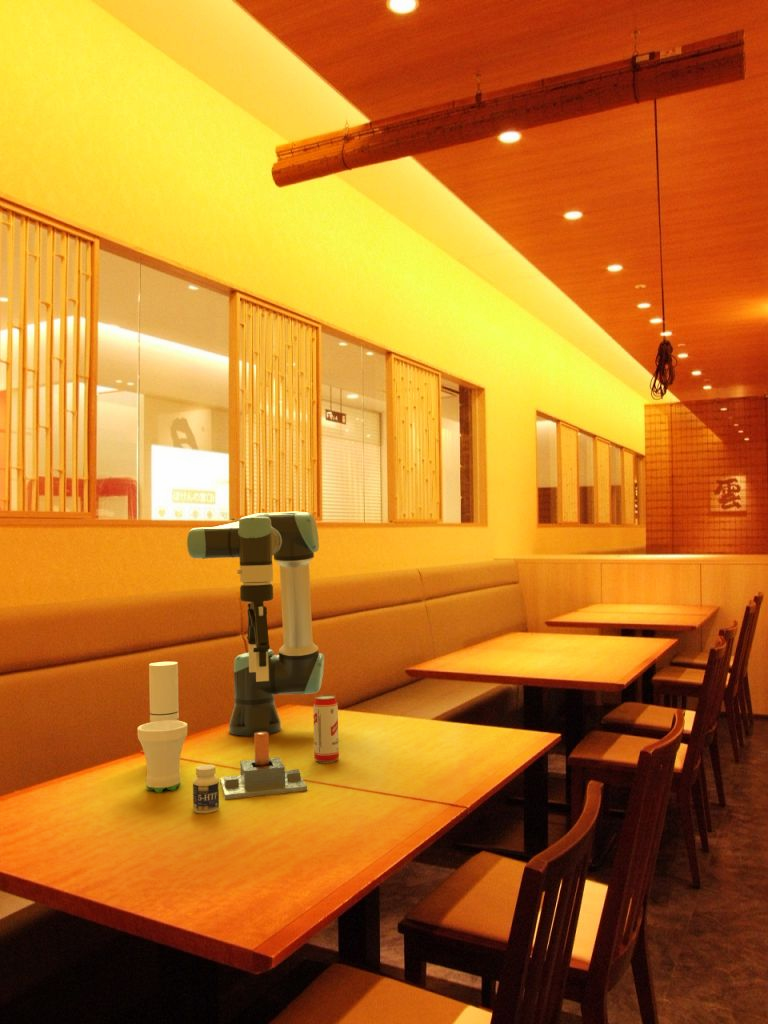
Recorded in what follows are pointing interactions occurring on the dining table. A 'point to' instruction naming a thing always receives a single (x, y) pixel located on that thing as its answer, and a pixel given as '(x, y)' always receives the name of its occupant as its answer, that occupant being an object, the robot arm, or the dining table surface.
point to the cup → (162, 753)
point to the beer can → (326, 729)
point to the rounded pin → (261, 749)
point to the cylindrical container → (163, 691)
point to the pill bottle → (205, 790)
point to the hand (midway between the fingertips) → (258, 676)
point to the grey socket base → (262, 780)
